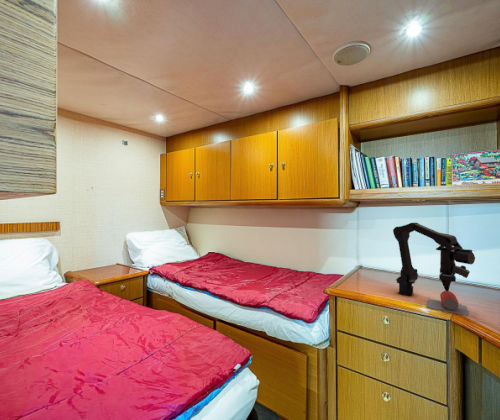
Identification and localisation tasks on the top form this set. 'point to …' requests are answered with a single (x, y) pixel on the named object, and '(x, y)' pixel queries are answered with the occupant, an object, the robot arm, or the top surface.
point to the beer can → (449, 300)
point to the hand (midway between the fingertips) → (446, 290)
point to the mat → (439, 306)
